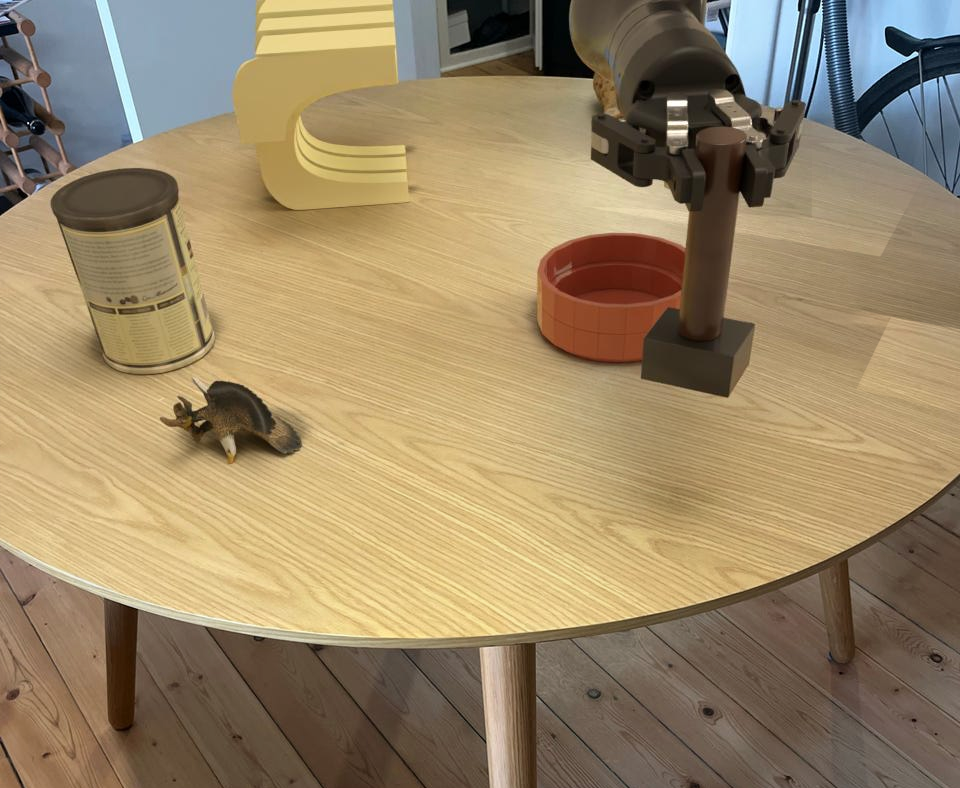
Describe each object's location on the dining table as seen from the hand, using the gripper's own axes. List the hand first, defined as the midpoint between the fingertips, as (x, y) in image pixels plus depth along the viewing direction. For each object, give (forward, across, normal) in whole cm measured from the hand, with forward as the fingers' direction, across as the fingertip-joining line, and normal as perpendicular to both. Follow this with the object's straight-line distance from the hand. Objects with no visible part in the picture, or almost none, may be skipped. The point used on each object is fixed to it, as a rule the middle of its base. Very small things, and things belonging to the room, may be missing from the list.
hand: (728, 191), depth 57 cm
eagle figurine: (-12, -34, +23) cm, 43 cm away
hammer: (-3, 0, +13) cm, 13 cm away
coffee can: (-30, -43, +23) cm, 57 cm away
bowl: (-28, -1, +23) cm, 37 cm away
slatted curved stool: (-65, -29, +23) cm, 75 cm away
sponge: (-78, +8, +24) cm, 82 cm away
